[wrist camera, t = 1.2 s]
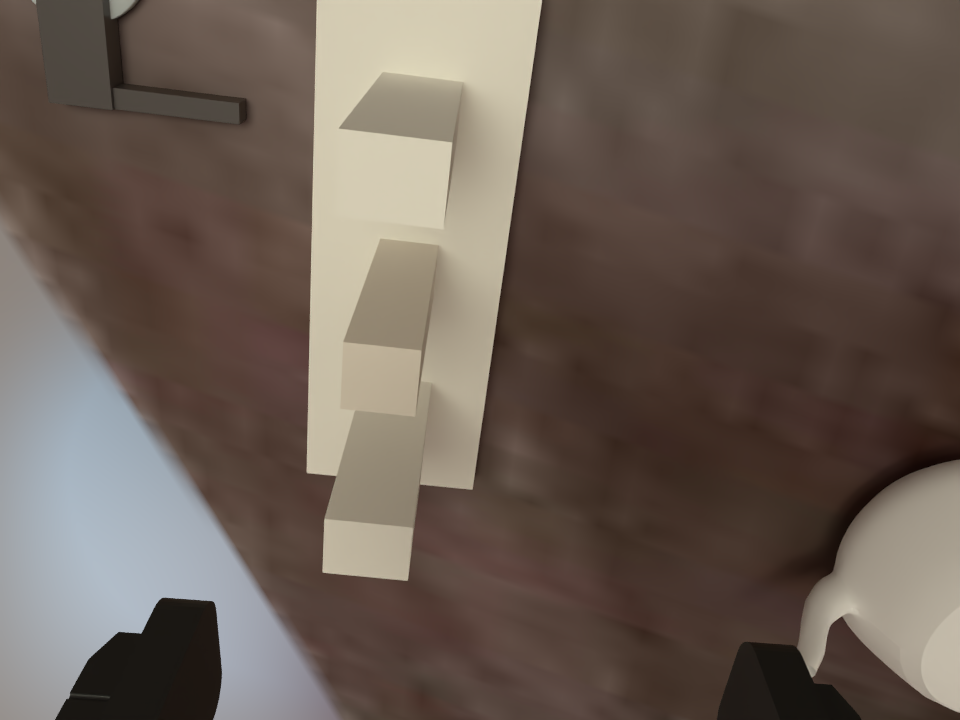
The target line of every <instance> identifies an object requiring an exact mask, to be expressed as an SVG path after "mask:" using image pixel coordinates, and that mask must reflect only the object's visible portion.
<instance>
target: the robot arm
mask: <svg viewBox="0 0 960 720" xmlns="http://www.w3.org/2000/svg"><path fill="white" fill-rule="evenodd" d="M221 679H222V669H221V657H220V646H219V636H218V625H217V614H216V607H215V604H214V602H212V601H200V600H187V599H173V598H162V599H161V600H159V602H158V603H157V604H156V606H155V608H154V610H153V612H152V614H151V616H150V618H149V620H148V622H147V624H146V626H145V628H144V630H143V632H142V634H139V633H125V632H118V633H117V634H116V635H115V636H114V637H113V638H111V640H109V641H108V642H107V643H106V644H105V645H104V646H103V647H102V648H101V649H99V650H98V651H97V652H96V653H95V654H94V655H93V656H92V657H91V658H90V659H89V660H88V661H87V663H86V665H85V667H84V669H83V670H82V672H81V674H80V676H79V677H78V679H77V681H76V683H75V685H74V686H73V688H72V690H71V692H70V697H69V699H66V701H65V703H64V705H63V706H62V708H61V710H60V712H59V714H58V716H57V717H56V719H55V720H213V718H214V715H215V712H216V709H217V705H218V700H219V695H220V688H221ZM717 720H861V718H860V716H859V715H858V714H857V713H856V712H855V710H854V709H853V708H852V707H851V706H850V705H849V704H848V703H847V701H846V700H845V699H844V698H843V697H842V696H841V695H840V694H839V693H838V691H837V690H836V689H835V688H834V687H833V686H832V685H827V684H814V682H813V680H812V678H811V675H810V673H809V671H808V668H807V666H806V664H805V661H804V659H803V657H802V655H801V653H800V651H799V650H798V649H797V648H796V647H795V646H793V645H781V644H767V643H753V642H744V643H742V644H741V646H740V647H739V650H738V652H737V655H736V658H735V661H734V664H733V667H732V670H731V673H730V676H729V679H728V682H727V685H726V688H725V691H724V694H723V697H722V700H721V703H720V706H719V710H718V717H717Z"/></svg>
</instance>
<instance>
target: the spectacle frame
mask: <svg viewBox="0 0 960 720" xmlns="http://www.w3.org/2000/svg"><path fill="white" fill-rule="evenodd" d="M32 1H33V2H34V3H35V4H36V6H37V13H38V21H39V29H40V37H41V44H42V52H43V60H44V68H45V75H46V83H47V91H48V99H49V102H50V103H58V104H66V105H74V106H82V107H91V108H99V109H107V110H114V109H117V110H126V111H134V112H142V113H150V114H158V115H167V116H175V117H183V118H191V119H199V120H208V121H216V122H224V123H232V124H241V123H242V122H243V121H245V120H246V99H244V98H236V97H228V96H220V95H212V94H204V93H196V92H187V91H179V90H171V89H163V88H155V87H147V86H139V85H131V84H123V76H122V64H121V52H120V41H119V29H118V18H119V17H121V16H122V15H124V14H126V13H127V12H128V11H130V10H131V9H132V8H133V7H134V6H135V5H136V3H137V2H138V1H139V0H32Z"/></svg>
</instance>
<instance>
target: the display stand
mask: <svg viewBox="0 0 960 720" xmlns="http://www.w3.org/2000/svg"><path fill="white" fill-rule="evenodd" d="M541 4H542V0H317V19H316V65H315V112H314V158H313V205H312V251H311V298H310V344H309V391H308V437H307V473H313V474H323V475H333V476H336V480H335V483H334V487H333V490H332V494H331V497H330V501H329V505H328V508H327V512H326V515H325V519H324V546H323V573H332V574H343V575H353V576H364V577H374V578H384V579H395V580H405V581H408V575H409V567H410V559H411V551H412V543H413V535H414V527H415V519H416V511H417V503H418V495H419V487H420V484H421V485H431V486H441V487H450V488H460V489H470V490H473V483H474V476H475V469H476V461H477V454H478V447H479V440H480V433H481V426H482V419H483V412H484V405H485V398H486V391H487V384H488V377H489V370H490V363H491V356H492V349H493V342H494V335H495V328H496V321H497V314H498V307H499V300H500V293H501V286H502V279H503V272H504V264H505V257H506V250H507V243H508V236H509V229H510V222H511V215H512V208H513V201H514V194H515V187H516V180H517V173H518V166H519V159H520V152H521V145H522V138H523V131H524V124H525V117H526V110H527V103H528V96H529V89H530V82H531V75H532V68H533V60H534V53H535V46H536V39H537V32H538V25H539V18H540V11H541Z"/></svg>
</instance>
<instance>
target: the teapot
mask: <svg viewBox="0 0 960 720" xmlns="http://www.w3.org/2000/svg"><path fill="white" fill-rule="evenodd" d="M841 616H843V618H844V620H845V621H846V623H847V624H848V626H849V627H850V629H851V630H852V631H853V632H854V633H855V635H856V636H857V637H858V638H859V639H860V640H861V641H862V642H863V643H864V644H865V645H866V646H867V647H868V648H869V649H870V650H871V651H872V652H873V653H874V654H875V655H876V656H877V657H878V658H879V659H880V660H881V661H883V662H884V663H885V664H886V665H887V666H888V667H889V668H890V669H892V670H893V671H894V672H895V673H896V674H897V675H899V676H900V677H901V678H902V679H903V680H905V681H906V682H907V683H908V684H910V685H911V686H912V687H913V688H915V689H916V690H917V691H919V692H920V693H921V694H922V695H924V696H925V697H926V698H929V699H931V700H933V701H935V702H937V703H939V704H941V705H943V706H945V707H947V708H949V709H951V710H954V711H956V712H959V713H960V459H959V460H954V461H949V462H944V463H940V464H937V465H933V466H930V467H927V468H924V469H921V470H918V471H915V472H913V473H910V474H908V475H906V476H904V477H902V478H900V479H898V480H897V481H895V482H893V483H892V484H890V485H889V486H887V487H886V488H884V489H883V490H882V491H881V492H879V493H878V494H877V495H876V496H875V497H874V498H873V499H872V500H871V501H870V502H869V503H868V504H867V505H866V506H865V507H864V508H863V509H862V510H861V511H860V512H859V514H858V515H857V516H856V517H855V519H854V520H853V521H852V523H851V524H850V526H849V527H848V529H847V531H846V533H845V535H844V537H843V539H842V541H841V543H840V546H839V549H838V552H837V556H836V561H835V565H834V570H833V572H832V573H831V574H829V575H827V576H825V577H823V578H822V579H821V580H819V581H818V582H817V583H816V584H815V586H814V587H813V588H812V590H811V592H810V593H809V595H808V597H807V599H806V601H805V604H804V609H803V614H802V619H801V628H800V636H799V641H798V646H797V649H798V650H799V651H800V653H801V655H802V657H803V659H804V661H805V664H806V666H807V668H808V671H809V673H810V675H811V678H812V677H813V676H815V674H816V672H817V669H818V667H819V665H820V663H821V661H822V659H823V656H824V653H825V647H826V640H827V635H828V631H829V628H830V626H831V624H832V623H833V622H834V621H836V620H837V619H838V618H840V617H841Z"/></svg>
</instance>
